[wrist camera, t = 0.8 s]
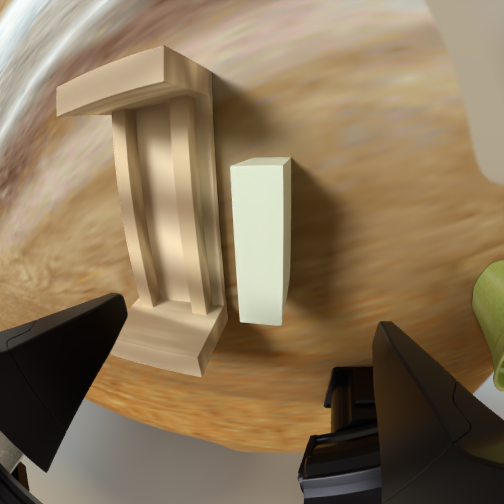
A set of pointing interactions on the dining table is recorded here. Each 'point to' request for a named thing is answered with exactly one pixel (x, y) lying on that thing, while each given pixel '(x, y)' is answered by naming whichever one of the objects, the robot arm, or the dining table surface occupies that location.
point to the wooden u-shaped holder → (163, 201)
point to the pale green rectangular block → (262, 237)
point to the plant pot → (492, 315)
